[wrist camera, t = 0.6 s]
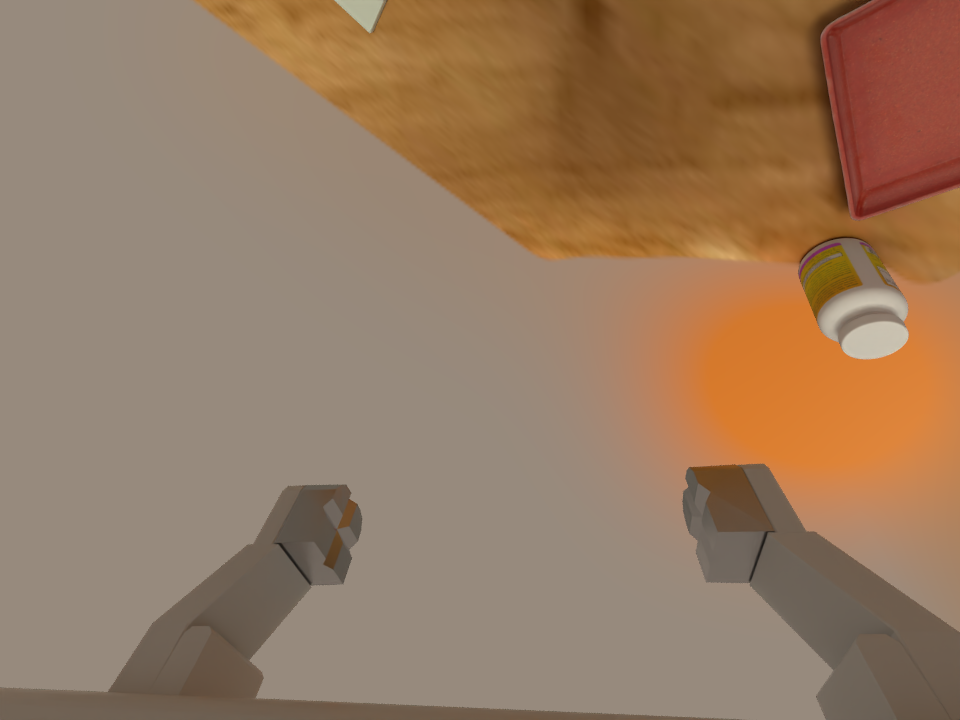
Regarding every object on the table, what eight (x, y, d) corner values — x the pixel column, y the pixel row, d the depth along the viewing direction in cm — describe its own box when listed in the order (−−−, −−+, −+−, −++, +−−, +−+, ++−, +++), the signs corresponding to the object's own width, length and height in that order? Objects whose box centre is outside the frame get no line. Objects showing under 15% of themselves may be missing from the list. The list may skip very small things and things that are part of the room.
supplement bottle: (787, 285, 51) (814, 362, 42) (812, 233, 46) (848, 309, 38) (854, 289, 49) (896, 371, 41) (887, 236, 44) (943, 316, 36)
